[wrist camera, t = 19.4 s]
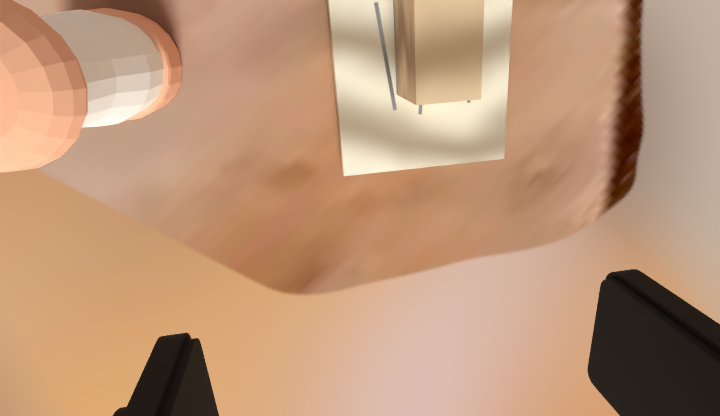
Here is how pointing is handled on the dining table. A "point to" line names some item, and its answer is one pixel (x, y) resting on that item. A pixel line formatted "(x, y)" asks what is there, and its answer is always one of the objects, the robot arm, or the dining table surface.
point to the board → (400, 117)
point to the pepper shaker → (76, 77)
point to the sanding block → (438, 50)
